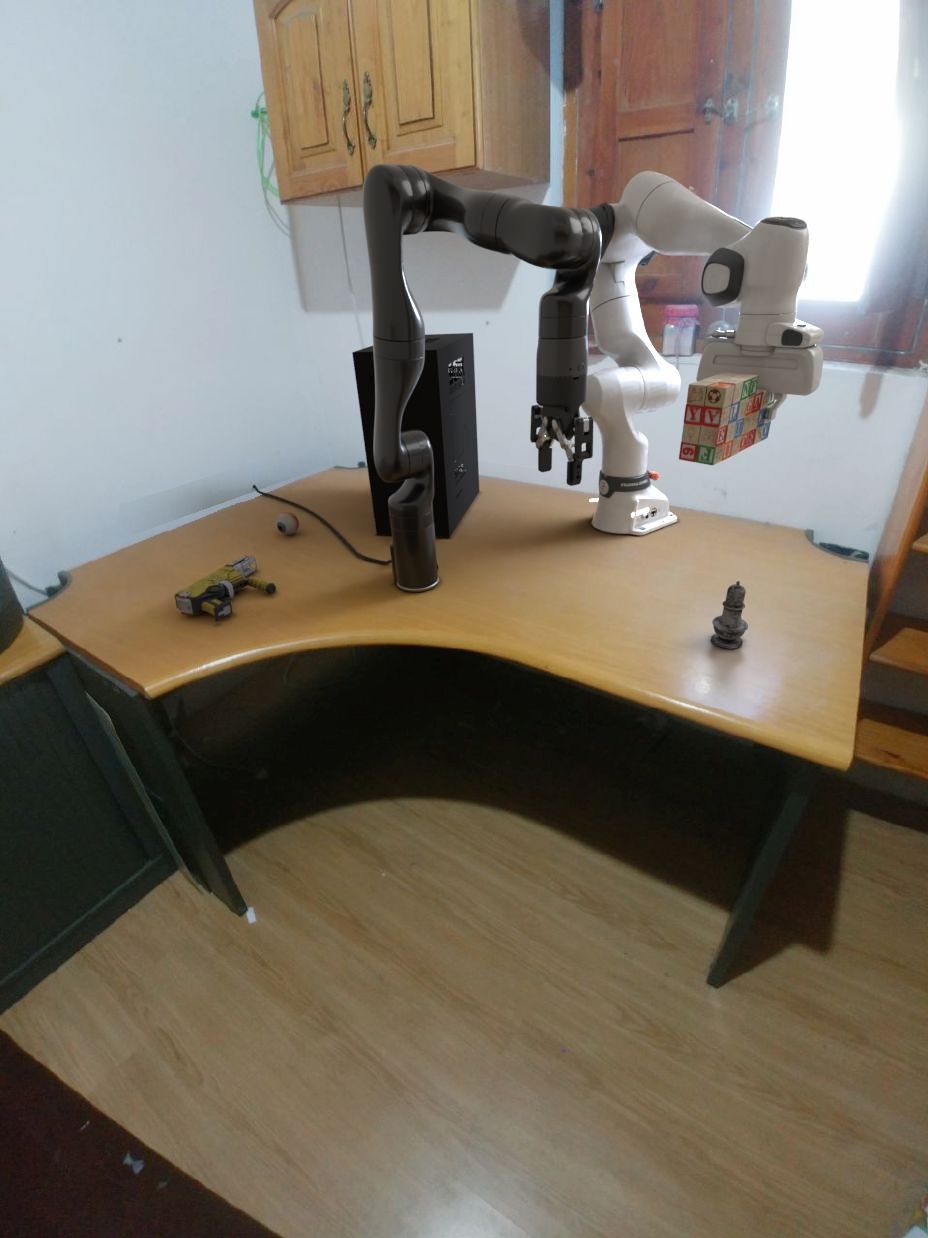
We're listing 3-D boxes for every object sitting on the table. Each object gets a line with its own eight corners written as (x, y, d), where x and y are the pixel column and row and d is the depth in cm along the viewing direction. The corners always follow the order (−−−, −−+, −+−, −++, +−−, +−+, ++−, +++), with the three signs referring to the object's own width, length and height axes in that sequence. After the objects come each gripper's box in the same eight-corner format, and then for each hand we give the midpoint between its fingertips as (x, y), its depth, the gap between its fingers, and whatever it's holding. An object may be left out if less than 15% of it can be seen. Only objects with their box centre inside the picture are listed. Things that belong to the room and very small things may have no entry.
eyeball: (273, 537, 164) (268, 516, 161) (287, 528, 169) (282, 508, 166) (291, 539, 161) (286, 518, 158) (305, 530, 166) (301, 510, 163)
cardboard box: (449, 537, 157) (436, 349, 134) (376, 534, 161) (352, 352, 139) (479, 491, 188) (473, 332, 166) (417, 489, 193) (403, 335, 170)
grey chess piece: (747, 650, 105) (760, 589, 99) (711, 648, 106) (722, 587, 100) (741, 633, 110) (753, 574, 104) (707, 631, 111) (717, 572, 105)
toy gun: (297, 563, 140) (243, 552, 144) (229, 608, 120) (168, 594, 124) (299, 582, 142) (245, 570, 146) (233, 629, 122) (172, 614, 126)
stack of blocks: (734, 433, 114) (747, 364, 108) (768, 438, 110) (783, 366, 104) (677, 459, 102) (688, 382, 96) (713, 466, 98) (726, 386, 92)
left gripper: (516, 367, 93) (516, 471, 102) (566, 378, 82) (563, 493, 90) (557, 362, 96) (554, 463, 104) (612, 372, 85) (604, 485, 93)
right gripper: (696, 331, 106) (685, 413, 113) (821, 335, 93) (800, 427, 100) (713, 328, 110) (701, 406, 117) (835, 331, 97) (814, 420, 104)
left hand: (558, 477), depth 97 cm, fingers open, 8 cm apart
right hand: (748, 416), depth 108 cm, fingers closed on stack of blocks, 6 cm apart
